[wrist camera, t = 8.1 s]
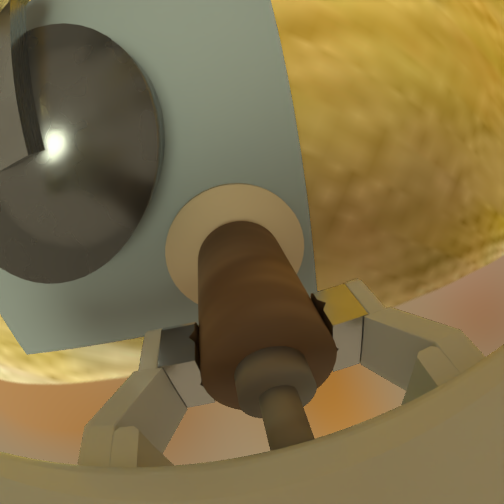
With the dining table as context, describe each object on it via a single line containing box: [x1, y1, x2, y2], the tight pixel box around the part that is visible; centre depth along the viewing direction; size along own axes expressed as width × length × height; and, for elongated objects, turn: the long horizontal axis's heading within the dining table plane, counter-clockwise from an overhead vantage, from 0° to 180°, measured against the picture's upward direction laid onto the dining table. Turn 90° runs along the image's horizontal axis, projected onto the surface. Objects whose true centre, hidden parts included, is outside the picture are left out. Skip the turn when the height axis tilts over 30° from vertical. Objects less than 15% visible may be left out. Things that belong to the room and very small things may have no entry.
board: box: [0, 0, 317, 354], centre depth 11 cm, size 18×18×2 cm
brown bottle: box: [198, 221, 337, 451], centre depth 8 cm, size 3×3×9 cm
